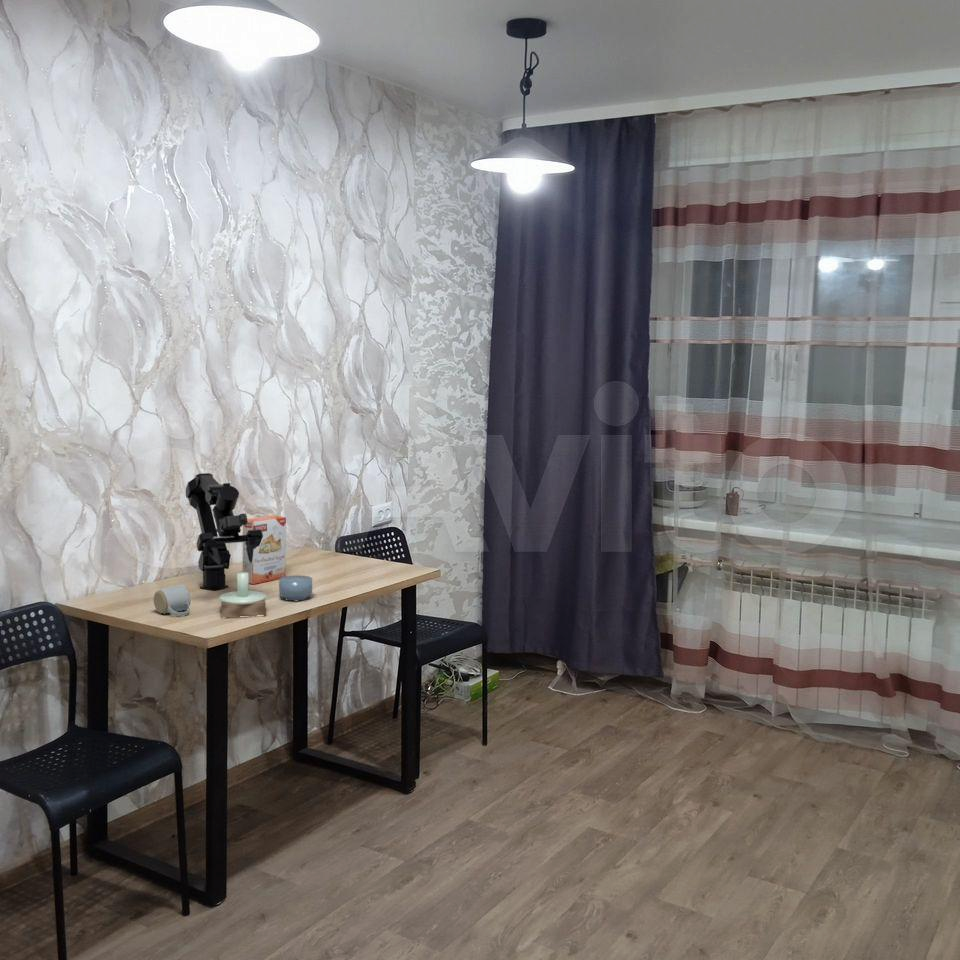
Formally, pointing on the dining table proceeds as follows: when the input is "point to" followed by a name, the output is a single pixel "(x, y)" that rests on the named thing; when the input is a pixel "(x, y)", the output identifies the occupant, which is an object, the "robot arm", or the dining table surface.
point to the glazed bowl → (295, 587)
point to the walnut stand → (243, 609)
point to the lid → (242, 592)
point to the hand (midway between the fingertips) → (235, 563)
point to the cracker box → (266, 549)
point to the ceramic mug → (173, 600)
